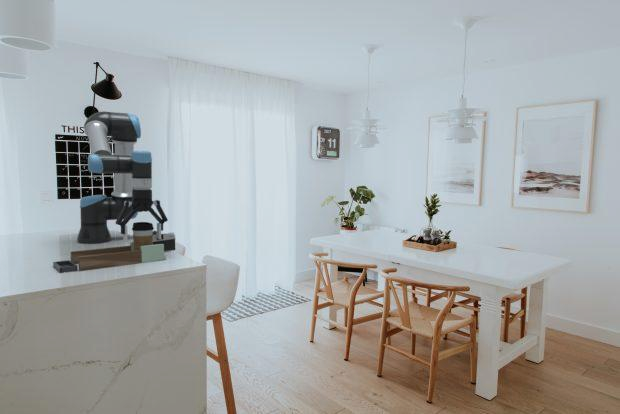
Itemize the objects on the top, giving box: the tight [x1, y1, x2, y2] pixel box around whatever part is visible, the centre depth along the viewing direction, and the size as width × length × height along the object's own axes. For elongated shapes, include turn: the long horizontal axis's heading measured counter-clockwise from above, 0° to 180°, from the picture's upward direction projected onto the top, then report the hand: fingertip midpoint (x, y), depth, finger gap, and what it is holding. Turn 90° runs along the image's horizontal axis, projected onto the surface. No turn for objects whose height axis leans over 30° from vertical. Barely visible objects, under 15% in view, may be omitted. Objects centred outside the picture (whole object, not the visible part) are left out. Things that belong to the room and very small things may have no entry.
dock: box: [129, 241, 167, 264], centre depth 169 cm, size 13×10×6 cm
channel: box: [70, 245, 142, 272], centre depth 159 cm, size 13×22×5 cm, turn 132°
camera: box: [153, 229, 177, 253], centre depth 184 cm, size 16×9×10 cm, turn 145°
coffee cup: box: [131, 221, 154, 250], centre depth 168 cm, size 8×8×15 cm
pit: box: [52, 259, 79, 274], centre depth 150 cm, size 12×6×2 cm, turn 42°
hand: (142, 240), depth 168 cm, fingers open, 13 cm apart
